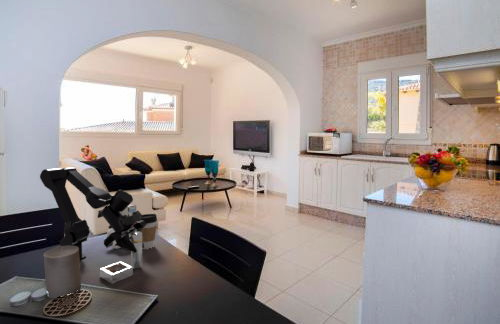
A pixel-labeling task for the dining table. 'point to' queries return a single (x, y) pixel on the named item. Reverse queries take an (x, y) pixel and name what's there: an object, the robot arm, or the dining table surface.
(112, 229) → the white knot sculpture
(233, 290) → the dining table surface
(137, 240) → the tube
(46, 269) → the pillar candle
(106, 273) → the white square flat box
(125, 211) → the candy bar box
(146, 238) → the coffee cup
